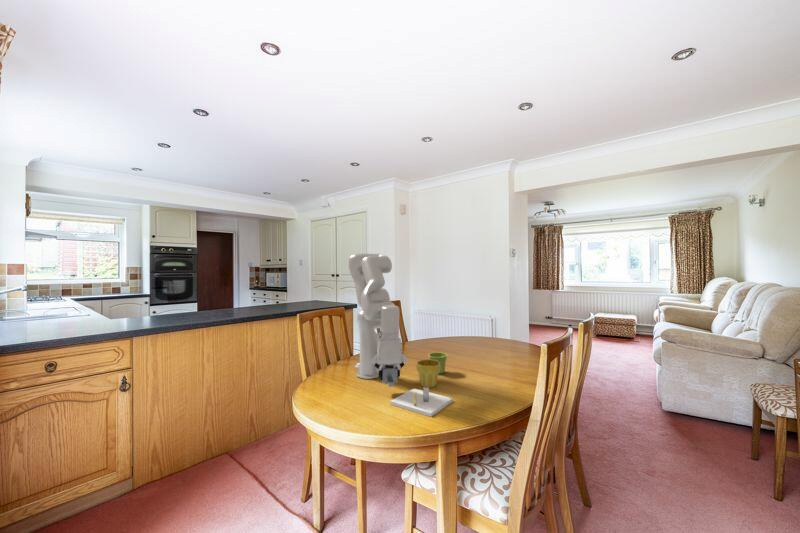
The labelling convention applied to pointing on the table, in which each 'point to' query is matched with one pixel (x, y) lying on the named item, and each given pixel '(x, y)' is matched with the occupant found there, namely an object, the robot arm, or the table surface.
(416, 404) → the brass dowel
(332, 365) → the table surface
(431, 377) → the plant pot
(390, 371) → the grey socket block
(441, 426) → the table surface
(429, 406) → the board
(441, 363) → the plant pot
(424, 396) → the steel post
